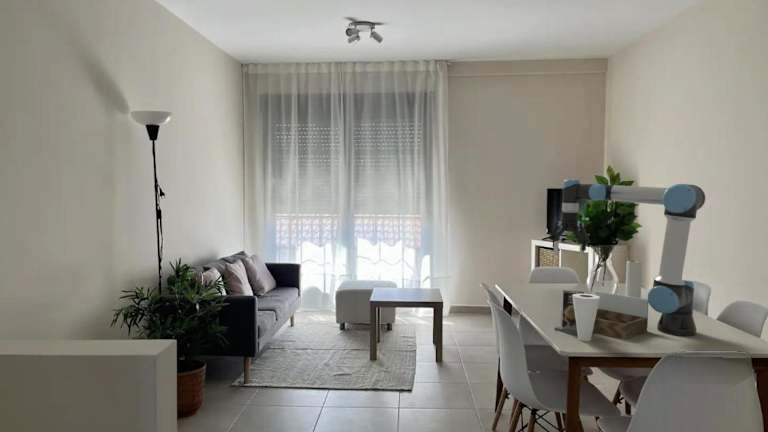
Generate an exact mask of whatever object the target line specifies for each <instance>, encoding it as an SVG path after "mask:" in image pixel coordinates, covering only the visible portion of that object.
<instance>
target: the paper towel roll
mask: <svg viewBox="0 0 768 432" xmlns="http://www.w3.org/2000/svg"><path fill="white" fill-rule="evenodd" d="M625 269H626V271H625V295H624V296H629V297H635V298H642V297H641V296H642V275H643V273H642V271H643V261H637V260H626V268H625Z"/></svg>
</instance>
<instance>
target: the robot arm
mask: <svg viewBox="0 0 768 432" xmlns="http://www.w3.org/2000/svg"><path fill="white" fill-rule="evenodd" d="M561 190H562V201H561V202H562V203H561V211H562V212H561V221H560V220H558V221H557V220H556V221H555V223H554V228H553V229H552V232H551V234H550V236H549V240H551V241H552V248H553V255H555V256H556V255H559V249H560V248H559V247H560V246H559V239H560V238H561V237H562V235H564V233H565V232H570V233H572V232H573V233H574V234H575V236H576V237H577V238H578V240H579V241H580V244H579V257H578V258H579V259H583V258H585V252H586V250H587V244H589V243H591V239H590V238H589V235H588V233H587V230H586V228H585V223H584V222H578V221H579V210H580V209H579V205H580V204H579V203H580V201H579V200H581V201H582V200H583V201H595V202H596V201H610V202H611V201H612V202H621V203H623V202H624V203H636V204H637V203H638V204H650V205H660V206H661V205H663V207H664V211H663V216H664V217H665V218H666V227H665V232H664V240H663V246H662V251H661V257H660V258H661V259H660V264H659V265H660V266H659V272H658V275H657V276H655V277H654V278H653V283H652V284H653V285H652V287H651V289H650V290H649V291H648V293H647V299H648V302H649V303H648V305H650V307H651V308H652V309H653V310H654V311H655V312H657V313H660V314H661V315H660V316H659V317H660V318H659V319H658V322H657V327H656V328H657V331H659V332H662V333H665V334H669V335H675V336H683V337H685V336H687V337H688V336H689V337H690V336H696V335H697V327H696V323H695V319H694V316H693V313H694V311H693V310H694V296H695V295H694V291H695V285H694V282H693V281H691V280H685V279H683V273H684V265H685V262H686V261H685V260H686V255H687V248H688V241H689V234H690V229H691V223H692V221H694V220H696V219H697V218H696V217H697V213H698V212H697V211H698V210H700V209H701V208H702V207H704V205H705V202H706V194H705V192H704V189H702V188H701V187H699V185H698V186H697V185H696V184H688V183H677V184H674V185H671V186H669V187H656V186H638V185H637V186H636V185H617V184H602V183H600V184H599V183H581V182H580V180H579V179H564V180H563V182H562V188H561ZM560 227H561V228H560Z"/></svg>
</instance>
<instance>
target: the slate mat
mask: <svg viewBox="0 0 768 432" xmlns="http://www.w3.org/2000/svg"><path fill="white" fill-rule="evenodd" d="M554 331H557V332H558V331H559V332H563V333H567V334H570V335H576V336H577V335H578V333H577V330H568V329H562V328H561V325H559V326H556V327H554Z"/></svg>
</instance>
